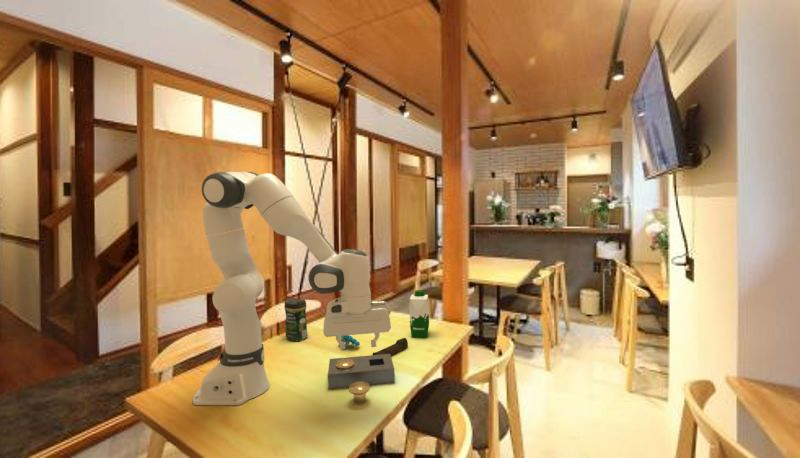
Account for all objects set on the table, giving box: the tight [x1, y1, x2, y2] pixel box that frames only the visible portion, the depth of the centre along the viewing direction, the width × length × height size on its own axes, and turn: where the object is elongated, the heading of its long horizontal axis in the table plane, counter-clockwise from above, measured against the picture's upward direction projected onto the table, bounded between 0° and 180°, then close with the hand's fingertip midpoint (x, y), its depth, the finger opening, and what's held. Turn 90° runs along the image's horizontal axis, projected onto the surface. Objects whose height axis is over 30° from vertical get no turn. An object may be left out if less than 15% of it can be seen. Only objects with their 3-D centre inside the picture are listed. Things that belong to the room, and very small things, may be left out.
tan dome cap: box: [348, 382, 371, 405], centre depth 108 cm, size 6×6×5 cm
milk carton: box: [408, 289, 430, 339], centre depth 161 cm, size 9×9×20 cm
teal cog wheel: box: [337, 335, 361, 351], centre depth 149 cm, size 11×6×10 cm
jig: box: [327, 354, 396, 390], centre depth 123 cm, size 22×12×6 cm, turn 98°
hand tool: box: [371, 337, 409, 356], centre depth 141 cm, size 19×4×5 cm, turn 135°
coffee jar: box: [284, 297, 309, 342], centre depth 161 cm, size 10×8×19 cm
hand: (358, 347), depth 107 cm, fingers open, 8 cm apart
